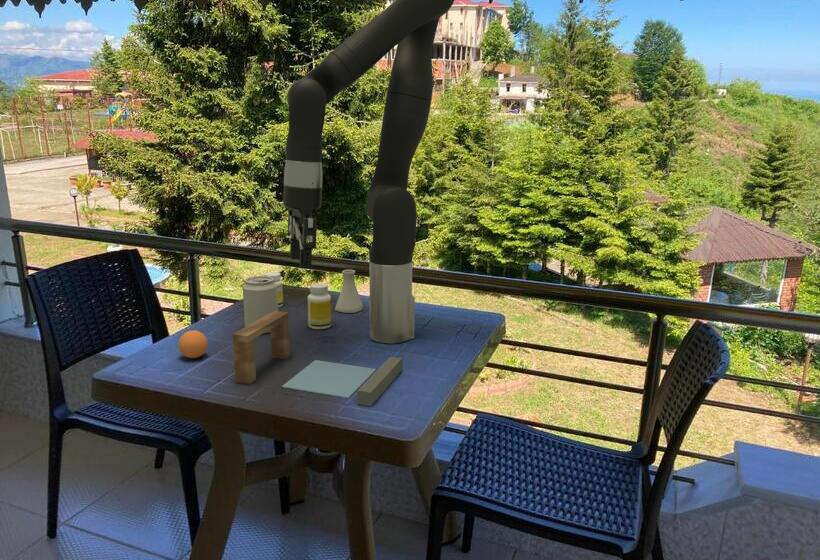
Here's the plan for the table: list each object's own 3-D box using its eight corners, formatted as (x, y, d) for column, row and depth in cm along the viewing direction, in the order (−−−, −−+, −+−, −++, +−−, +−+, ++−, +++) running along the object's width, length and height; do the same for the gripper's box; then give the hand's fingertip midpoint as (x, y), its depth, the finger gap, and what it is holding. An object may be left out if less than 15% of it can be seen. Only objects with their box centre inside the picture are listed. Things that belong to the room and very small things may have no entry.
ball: (209, 350, 125) (207, 325, 123) (208, 360, 120) (206, 334, 118) (180, 353, 123) (178, 327, 122) (178, 363, 118) (176, 337, 117)
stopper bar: (357, 404, 102) (357, 390, 102) (390, 368, 117) (390, 356, 116) (370, 406, 102) (370, 392, 101) (402, 370, 116) (402, 358, 116)
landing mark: (281, 387, 108) (281, 386, 108) (315, 360, 120) (315, 360, 120) (348, 398, 104) (348, 397, 104) (376, 370, 116) (376, 369, 116)
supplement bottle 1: (261, 304, 156) (259, 273, 154) (278, 301, 159) (276, 270, 157) (269, 309, 152) (267, 276, 150) (286, 306, 155) (285, 274, 153)
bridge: (235, 381, 110) (232, 334, 108) (276, 353, 124) (274, 310, 121) (250, 384, 109) (247, 336, 107) (290, 355, 123) (288, 312, 120)
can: (270, 336, 133) (268, 283, 130) (239, 333, 135) (235, 281, 132) (284, 325, 141) (282, 275, 137) (254, 323, 142) (251, 273, 139)
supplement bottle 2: (335, 327, 140) (335, 286, 137) (314, 331, 137) (313, 289, 134) (325, 320, 144) (324, 281, 142) (304, 324, 141) (302, 284, 139)
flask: (329, 311, 151) (328, 272, 148) (342, 303, 158) (342, 266, 155) (355, 315, 149) (355, 275, 146) (368, 307, 155) (367, 269, 153)
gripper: (331, 188, 116) (327, 271, 120) (312, 181, 129) (309, 256, 133) (292, 187, 113) (289, 271, 117) (276, 179, 126) (274, 256, 130)
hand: (300, 263), depth 125 cm, fingers open, 8 cm apart
